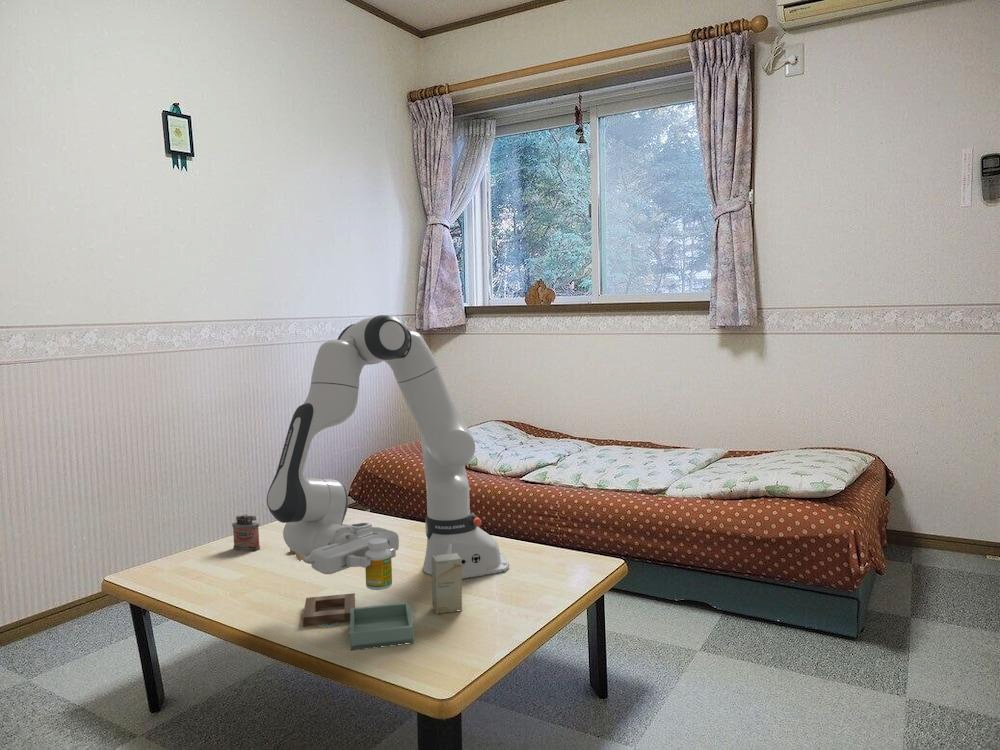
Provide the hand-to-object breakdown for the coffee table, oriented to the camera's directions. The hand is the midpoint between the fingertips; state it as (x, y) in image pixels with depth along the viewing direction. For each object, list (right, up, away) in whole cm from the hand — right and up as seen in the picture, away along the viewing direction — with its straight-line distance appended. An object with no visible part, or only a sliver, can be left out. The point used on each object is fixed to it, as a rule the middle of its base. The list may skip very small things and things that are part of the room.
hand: (381, 558), depth 150 cm
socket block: (-14, -16, +13) cm, 24 cm away
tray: (0, -16, +2) cm, 16 cm away
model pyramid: (-27, -12, +58) cm, 65 cm away
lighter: (-48, -12, +59) cm, 77 cm away
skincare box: (+13, -15, +14) cm, 24 cm away
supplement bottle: (-1, -6, +1) cm, 6 cm away
